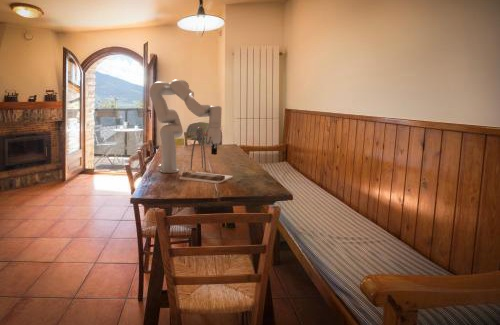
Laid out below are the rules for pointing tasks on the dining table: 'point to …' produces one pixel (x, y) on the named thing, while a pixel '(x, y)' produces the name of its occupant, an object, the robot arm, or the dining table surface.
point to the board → (207, 180)
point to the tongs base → (201, 176)
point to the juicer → (199, 135)
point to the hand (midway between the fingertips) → (214, 154)
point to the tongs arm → (211, 174)
